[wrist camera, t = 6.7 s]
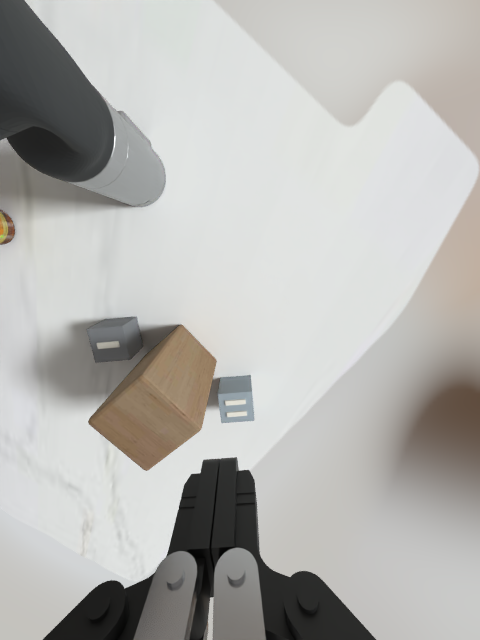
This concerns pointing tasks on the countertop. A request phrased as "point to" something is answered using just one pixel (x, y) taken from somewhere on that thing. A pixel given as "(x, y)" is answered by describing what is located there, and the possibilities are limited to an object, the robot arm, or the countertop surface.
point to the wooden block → (159, 400)
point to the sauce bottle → (6, 228)
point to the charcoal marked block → (115, 339)
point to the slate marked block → (236, 399)
